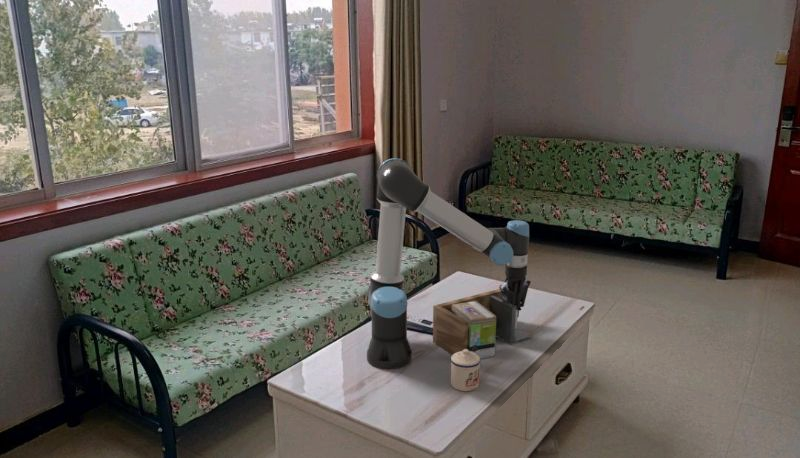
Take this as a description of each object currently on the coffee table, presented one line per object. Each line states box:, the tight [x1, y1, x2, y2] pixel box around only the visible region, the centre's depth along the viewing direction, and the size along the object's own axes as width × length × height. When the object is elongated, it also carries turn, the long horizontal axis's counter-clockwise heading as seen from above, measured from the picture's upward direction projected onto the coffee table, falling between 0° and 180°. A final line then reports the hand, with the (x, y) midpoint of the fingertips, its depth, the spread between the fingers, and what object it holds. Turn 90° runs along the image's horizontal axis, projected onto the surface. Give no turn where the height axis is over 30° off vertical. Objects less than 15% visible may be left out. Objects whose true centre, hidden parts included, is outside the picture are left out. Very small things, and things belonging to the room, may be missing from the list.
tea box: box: [452, 301, 496, 360], centre depth 216 cm, size 15×10×15 cm, turn 21°
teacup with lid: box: [450, 349, 482, 392], centre depth 195 cm, size 12×9×12 cm
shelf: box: [432, 288, 503, 356], centre depth 223 cm, size 36×17×14 cm, turn 122°
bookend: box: [489, 295, 531, 346], centre depth 226 cm, size 9×12×14 cm
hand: (512, 326), depth 228 cm, fingers closed
